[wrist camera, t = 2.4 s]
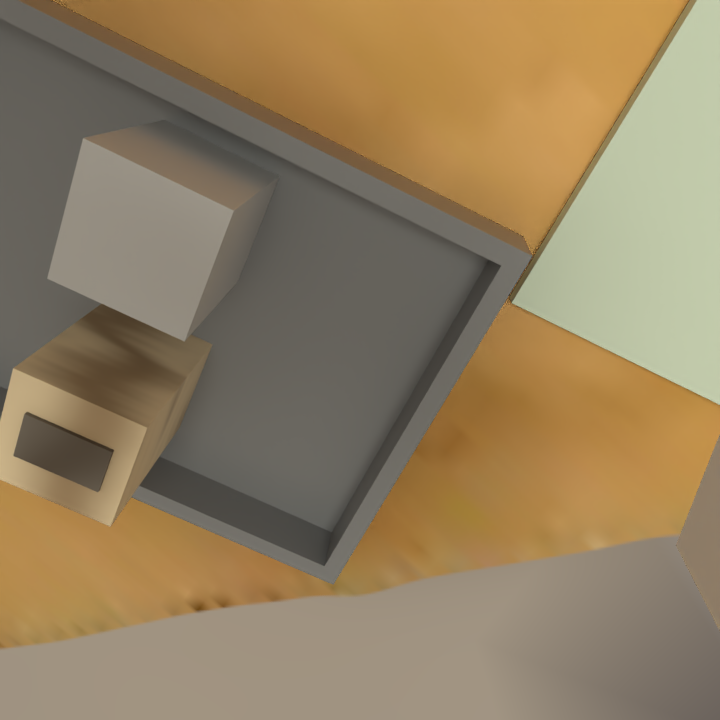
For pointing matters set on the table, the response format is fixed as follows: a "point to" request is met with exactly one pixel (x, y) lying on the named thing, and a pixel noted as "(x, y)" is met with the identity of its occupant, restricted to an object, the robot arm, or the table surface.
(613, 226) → the mat
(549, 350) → the table surface
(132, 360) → the maple box
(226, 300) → the parts bin
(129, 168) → the grey box
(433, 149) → the table surface
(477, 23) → the table surface
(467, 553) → the table surface
